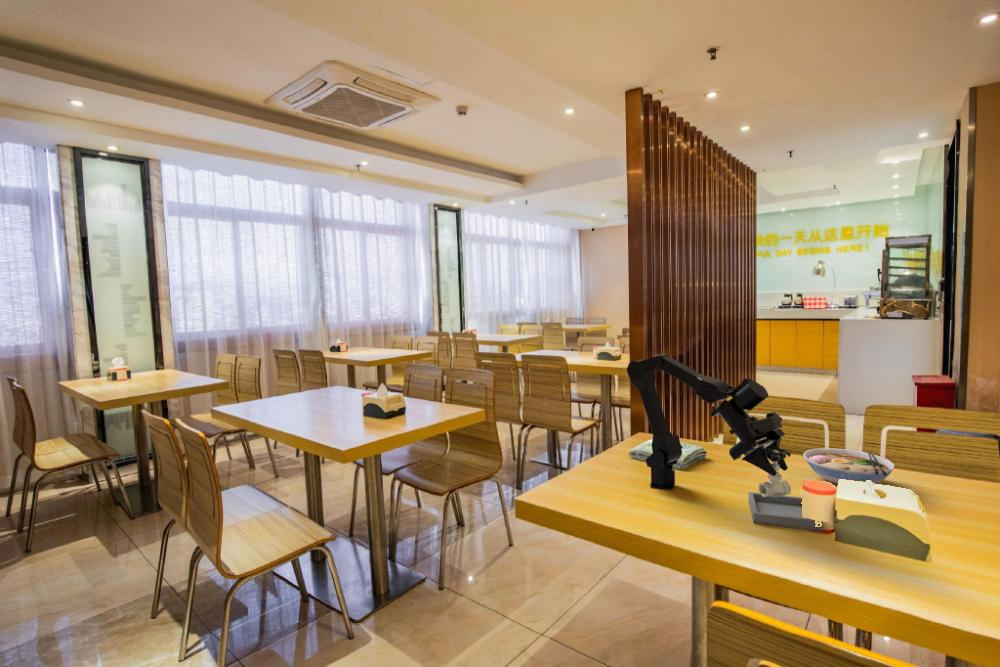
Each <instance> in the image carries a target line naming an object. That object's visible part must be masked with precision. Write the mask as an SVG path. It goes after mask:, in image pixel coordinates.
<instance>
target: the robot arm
mask: <svg viewBox="0 0 1000 667" xmlns="http://www.w3.org/2000/svg"><path fill="white" fill-rule="evenodd" d="M660 370H661V371H663V372H665V373H666V374H669V376H672V377H673V378H674V379H676V380H678V381H679V382H682V383H683V384H685V385H687V386H688V387H690V388H691V389H692V391H694V393H695V395H696V396H698V397H699V399H701V400H702V401H704V402H705V403H707V404H715V403H718V402H721V403H719V405H712V406H711V414H710V416H711V418H713V417H717V416H720V417H721V418H722V419H723V420H724V422H725V423H726V425H728V427H729V428H730V430H729V431H728V432H729V433H730V434H731V435H733V434H735V436H736V437H737V438H738V439H739V441H738V442H737V443H736V444H734V445H733V446H731V447H730V448H729V450H728V452H729V453H728V454H729V456H730V458H732V459H733V461H736V460H739V459H741V460H742V461H745V462H747V463H749V464H751V465H753V466H755V467H757V468H758V469H760V470H762V471H763V472H766V473H767V474H771V475H773V476H775V475H776V474H777V472H776V471H775V469H774V467H773V466H772V463H773V461H772V460H771V458H769V457H768V456H767V455H765V454H764V448H765V449H766V447H771V448H775V447H779V448H780V444H781V441H782V438H783V437H784V436H786V433H785V432H784V431H783V430H782V428H783V427H784V426H783V424H782V421H783V418H782V417H781V416H780V414H778V413H777V412H776V411H771V412H769V413H766V414H765V418H760V419H758V418H757V417H756V416H755V415H754V416H750V415H749V414H748V413H747V411H752V410H754V409H755V408H756V407H758V406H759V405H760V404H762V402H764V401H765V400H766V399H767V398H769V393H768V391H767V389H766V388H765V386H763V385H761V384H760V383H759V382H757V381H754V380H753V379H752V378H751V377H746V378H744V379H743V380H742V381H741V382H740V384H738V386H732V385H729V383H728V382H726V381H724V379H723V380H722V379H719V378H717V377H714V376H709V375H704V374H702V373H700V372H698V371H697V370H694V369H693V368H690V367H689V366H688V365H686V364H683V363H682V362H680V361H678V360H676V359H674V358H673V357H671V356H670V355H669V354H667V353H661V354H656V355H654V356H651V357H650V358H646V359H639V360H634V361H630V362H629V363H628V365H627V366H626V373H627V375H628V378H629V380H630V382H631V383H632V384H633V385H634V387H636V388H637V389H638V393H639V395H640V397H641V398H640V399H641V400H642V404H643V407H644V410H645V413H646V417H647V421H648V423H649V426H650V429H651V433H652V438H653V439H652V438H651V439H652V451H653V453H652V454H651V455H650V456H649V457H648V458H647V459H646V461H645V464H646V466H647V467H648V468H650V485H649V487H650V488H654V489H656V488H657V489H664V490H673V489H674V486H675V484H676V469H674V468H673V465H674V464H677V461H678V459H679V458H680V457H681V455H682V448H683V447H682V446H681V444H680V441H681V440H680V437H679V435H677V434H676V435H674V434H673V433H672V432H671V431H670V429H669V427H668V424H667V420H666V417H665V413H664V412H663V408H662V405H661V402H660V399H659V395H658V392H657V390H656V386H655V384H656V378H657V374H656V372H658V371H660ZM728 398H731V399H729V400H727V399H728ZM780 449H781V448H780ZM771 452H772V451H771ZM779 453H781V452H779ZM743 455H744V457H742V456H743ZM769 455H770V454H769ZM778 464H779V469H781V470H782V471H783V472H785V471H787V470H788V468H789V467H788V465H787V462H786V461H785V458H781V459H780V461H778Z"/></svg>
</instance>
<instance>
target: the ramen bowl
mask: <svg viewBox="0 0 1000 667" xmlns="http://www.w3.org/2000/svg"><path fill="white" fill-rule="evenodd" d="M802 455H803V457H804V459H805V461H806V463H807V464H808V465H809V467H810V468H811V469H812V470H813V471H814V473H815V474H817V475H818V476H820V477H822V478H824V479H825V480H828V481H830V482H832V483H834V484H836V485H838V484H837V483H838V480H839V479H846V480H854V481H863V482H865V481H866V480H871V481H872V482H873V483H875V484H878V483H880V482H882V481H884V480H886V478H888V477H889V475H890V474H891V473H892V472H893V471H894V468H895V466H896V464H894V462H892V461H891V460H890V459H887V458H885V457H883V456H879V455H877V454H873V452H872V451H871V450H870V449H869V450H868V449H866V452H864V451H860V450H853V449H845V448H832V447H826V448H825V447H824V448H812V449H809V450H806V451H804V452H803V453H802Z"/></svg>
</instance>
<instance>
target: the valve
mask: <svg viewBox="0 0 1000 667" xmlns="http://www.w3.org/2000/svg"><path fill="white" fill-rule="evenodd" d="M779 447H780V446H779ZM779 447H775V448H771V447H766V449H765V448H764V454H765V455H767V456H768V457H769V458H771V460H772V461H773V462H772V461H771V460H770V461H771V464H772V466H773V467H774V469H775V471H776V472H777V474H776V475H775V476H773V475H771V474H769V473H767V475H768V476H767V478H768V479H769V481H765V482H760V483H758V493H760V494H761V495H762V496H763V497H769V496H771V497H780V496H782V495H784V496H789V495H791V492H792V487H791V485H790V483H789V482H788V480H782V479H783V475H782V474H780V473H779V471H780V467H779V464H778V461H780V459H781V458H784V459H786V458H787V457H789V458H790V457H791V455H792V452H791V451H789V450H788V449H787V448H784V449H783V448H782V449H781V448H779ZM771 451H772V452H771ZM779 452H781V453H779ZM769 454H770V455H769Z"/></svg>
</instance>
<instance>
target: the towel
mask: <svg viewBox="0 0 1000 667" xmlns="http://www.w3.org/2000/svg"><path fill="white" fill-rule="evenodd" d="M652 439H653V437H652V438H651V439H649V440H647V441H644V442H642V443H641V444H639V445H637V446H635V447H633V448H631V449H630V450H629V452H628V456H629V457H630V458H631V459H635V460H638V461H642V462H646V459H647V458H648V457H649V456H650V455H651V454H652V453H653V451H652ZM680 444H681V446H682V447H683V448H682V455H681V457H680V458H679V459H678V461H677V464H674V465H673V469H674V470H685V469H686V468H688V467H689V466H691V465H693V464H695V463H696V462H698V461H700V460H701V461H702V460H703V459H705V458H706V456H707V455H708V451H707V450H705V449H704V447H703V446H701V445H694V444H691V443H687V442H684V441H681V440H680Z"/></svg>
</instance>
